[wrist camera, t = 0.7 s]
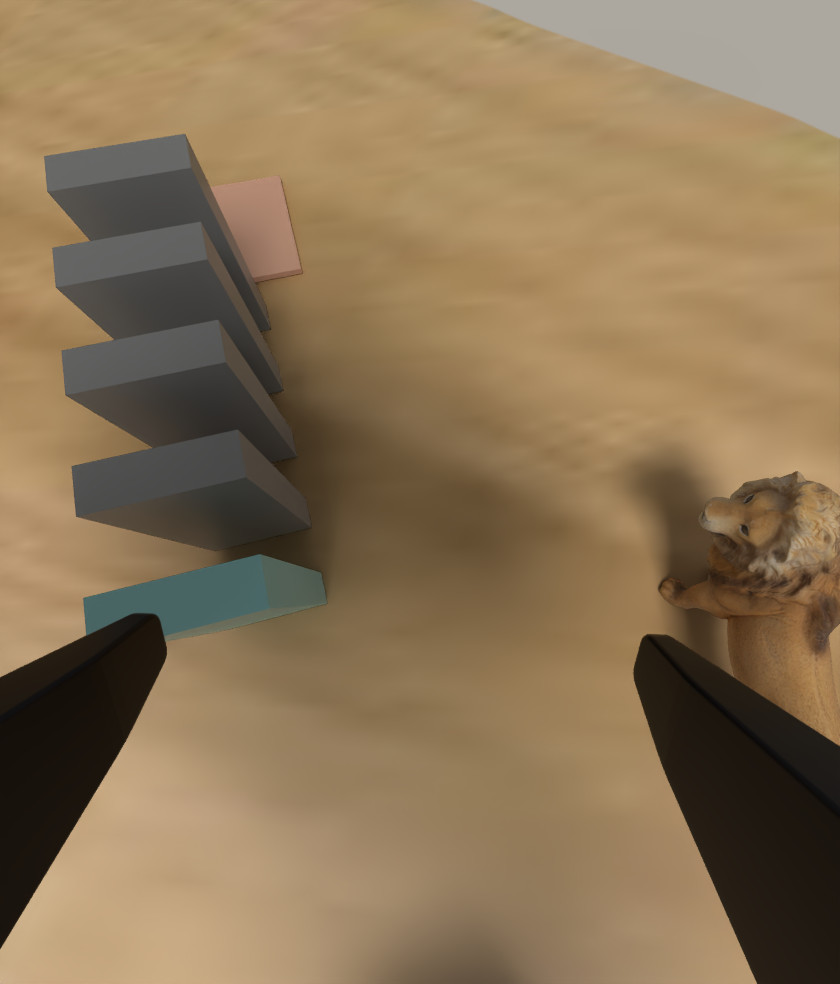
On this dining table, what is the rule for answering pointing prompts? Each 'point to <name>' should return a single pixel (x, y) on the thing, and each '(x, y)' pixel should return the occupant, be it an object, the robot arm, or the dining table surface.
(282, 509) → the domino
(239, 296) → the domino
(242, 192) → the strip
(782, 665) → the lion figurine
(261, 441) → the domino
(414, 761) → the dining table surface
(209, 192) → the domino
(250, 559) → the domino
